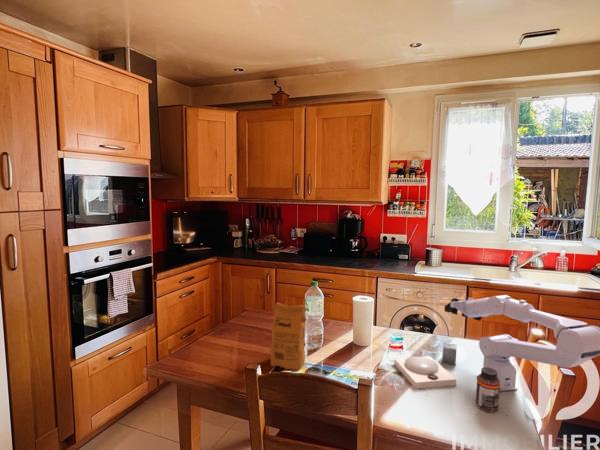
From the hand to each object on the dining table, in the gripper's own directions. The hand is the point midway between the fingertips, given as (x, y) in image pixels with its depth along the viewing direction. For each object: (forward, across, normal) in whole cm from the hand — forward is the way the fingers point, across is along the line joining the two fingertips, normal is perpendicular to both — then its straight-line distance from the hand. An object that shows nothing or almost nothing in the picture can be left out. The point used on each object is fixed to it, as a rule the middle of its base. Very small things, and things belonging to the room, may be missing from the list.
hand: (454, 311), depth 136 cm
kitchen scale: (-2, +12, +25) cm, 28 cm away
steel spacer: (+3, -1, +18) cm, 18 cm away
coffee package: (+16, +56, +31) cm, 66 cm away
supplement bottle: (-21, +4, +31) cm, 38 cm away
